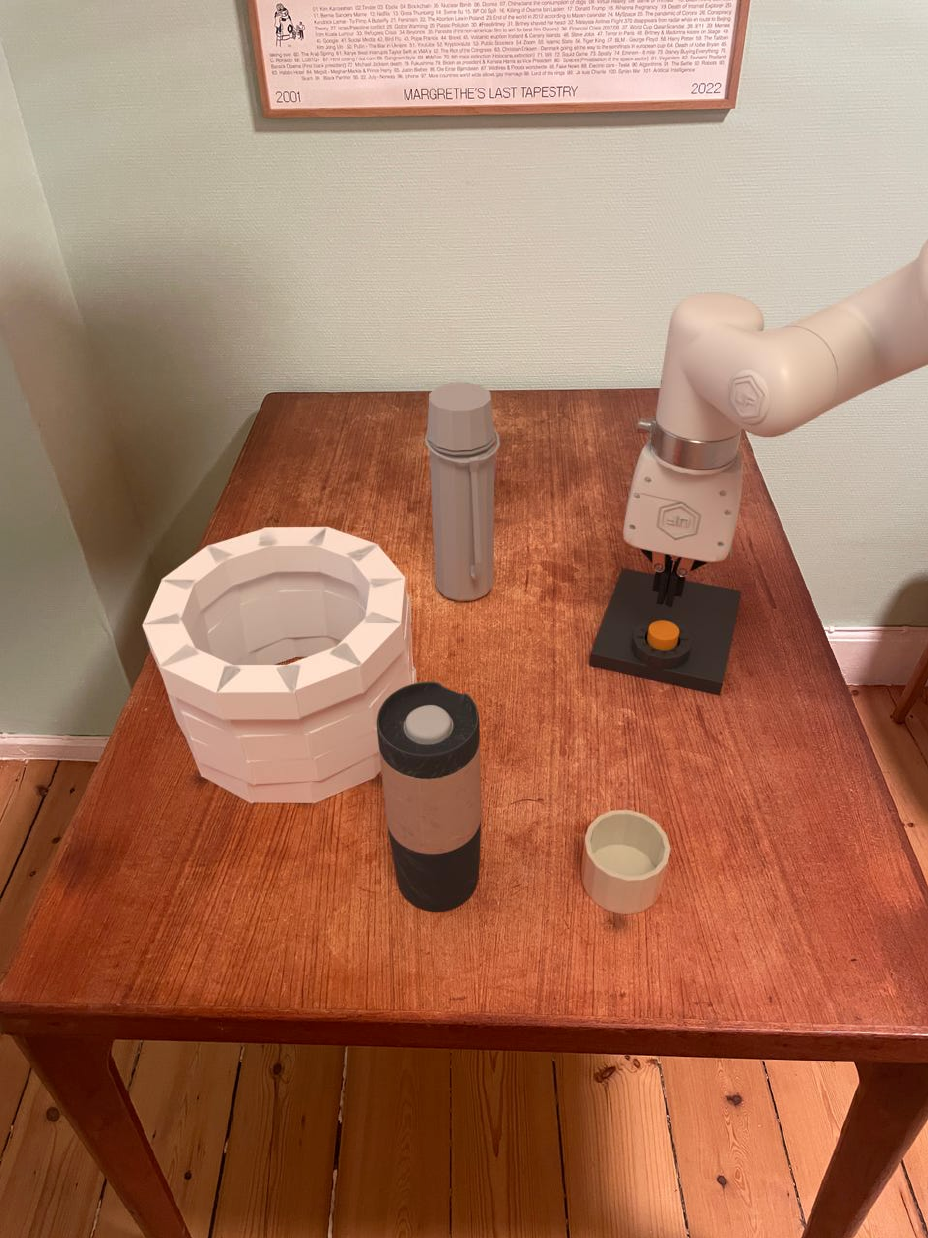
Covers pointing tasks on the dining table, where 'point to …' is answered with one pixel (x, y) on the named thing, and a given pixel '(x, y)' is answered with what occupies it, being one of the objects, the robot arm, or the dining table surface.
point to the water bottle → (462, 488)
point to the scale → (696, 614)
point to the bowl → (624, 861)
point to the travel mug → (432, 792)
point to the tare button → (663, 635)
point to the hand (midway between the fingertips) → (666, 597)
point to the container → (283, 659)
